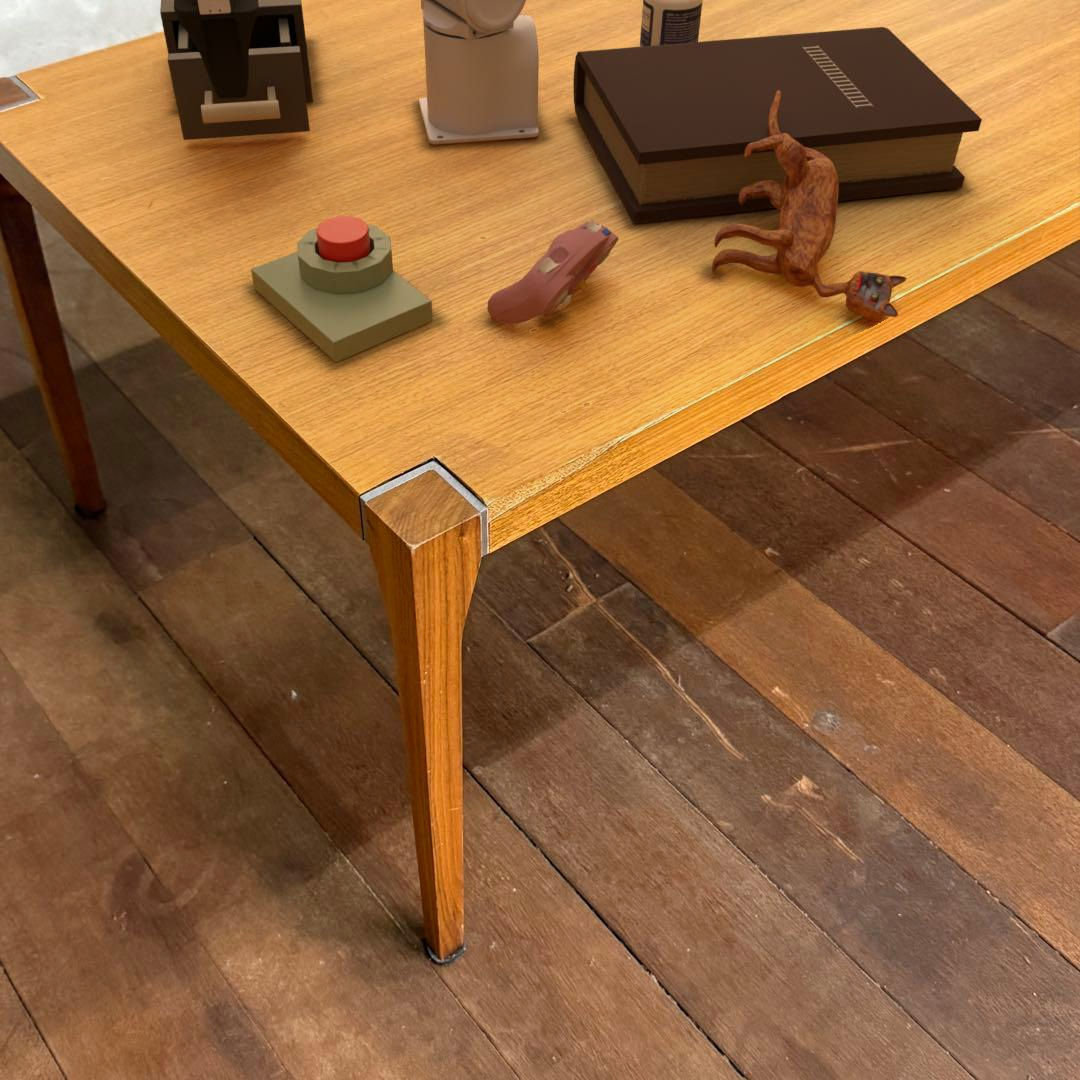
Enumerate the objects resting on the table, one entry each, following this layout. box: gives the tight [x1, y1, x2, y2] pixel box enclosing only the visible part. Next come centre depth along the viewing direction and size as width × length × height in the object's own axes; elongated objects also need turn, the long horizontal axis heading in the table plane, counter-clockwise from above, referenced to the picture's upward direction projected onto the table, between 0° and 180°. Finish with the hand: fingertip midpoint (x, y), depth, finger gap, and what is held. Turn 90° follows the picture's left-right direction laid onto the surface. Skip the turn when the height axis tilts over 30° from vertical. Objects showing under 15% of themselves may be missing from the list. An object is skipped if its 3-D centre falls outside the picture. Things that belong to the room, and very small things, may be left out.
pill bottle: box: [639, 0, 704, 47], centre depth 111 cm, size 5×5×10 cm
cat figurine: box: [711, 91, 907, 322], centre depth 89 cm, size 18×7×14 cm
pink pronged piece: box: [487, 218, 620, 325], centre depth 85 cm, size 10×5×7 cm, turn 148°
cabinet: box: [159, 0, 314, 104], centre depth 108 cm, size 13×12×9 cm
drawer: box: [167, 15, 311, 141], centre depth 101 cm, size 16×10×7 cm, turn 11°
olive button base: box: [250, 223, 433, 363], centre depth 85 cm, size 11×9×4 cm
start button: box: [316, 215, 370, 263], centre depth 85 cm, size 4×4×2 cm
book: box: [573, 26, 983, 224], centre depth 101 cm, size 28×20×6 cm
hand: (231, 73), depth 91 cm, fingers open, 7 cm apart
